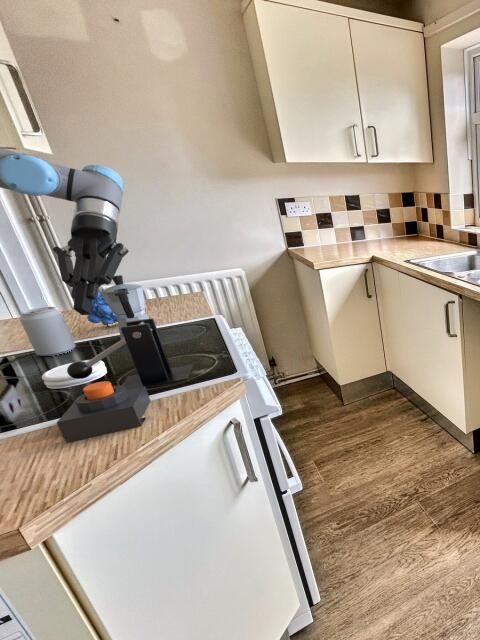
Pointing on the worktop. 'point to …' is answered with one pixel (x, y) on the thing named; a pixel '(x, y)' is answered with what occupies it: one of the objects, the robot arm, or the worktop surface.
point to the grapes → (101, 312)
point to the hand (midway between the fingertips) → (82, 311)
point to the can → (47, 331)
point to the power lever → (92, 362)
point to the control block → (104, 414)
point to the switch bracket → (149, 357)
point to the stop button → (98, 390)
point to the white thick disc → (62, 379)
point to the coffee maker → (125, 302)
